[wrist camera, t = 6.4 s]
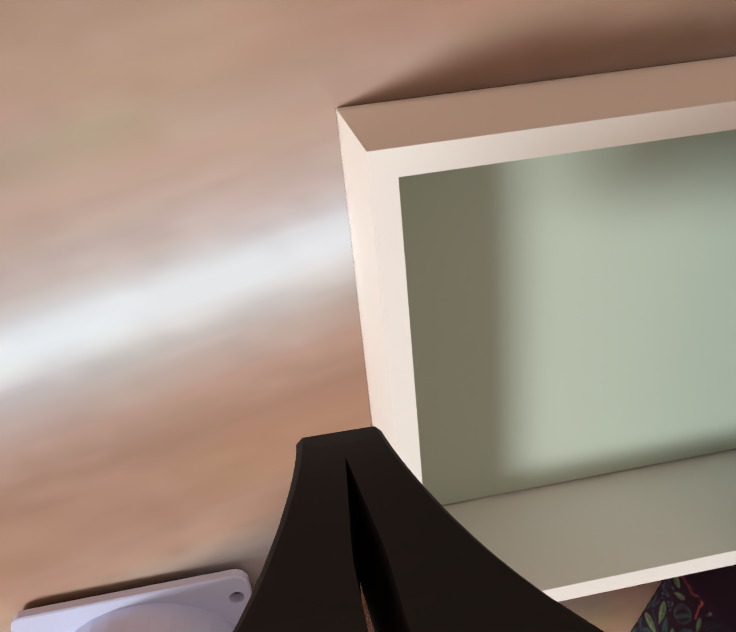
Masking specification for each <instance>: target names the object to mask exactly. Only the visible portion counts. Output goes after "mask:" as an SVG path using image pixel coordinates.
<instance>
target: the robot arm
mask: <svg viewBox="0 0 736 632" xmlns="http://www.w3.org/2000/svg"><path fill="white" fill-rule="evenodd" d="M360 583H361V586H362V590H363V593H364V597H365V600H366V604H367V607H368V611H369V614H370V617H371V621H372V624H373V628H374V631H375V632H604V631H602V630H600V629H599V628H597V627H596V626H594V625H593V624H591V623H589V622H588V621H586V620H585V619H583V618H582V617H580V616H579V615H577V614H575V613H574V612H572V611H571V610H569V609H568V608H566V607H565V606H563V605H562V604H560V603H558V602H557V601H555V600H554V599H552V598H551V597H549V596H548V595H546V594H545V593H544V592H542V591H541V590H540V589H538V588H537V587H535V586H534V585H533V584H531V583H530V582H529V581H527V580H526V579H525V578H523V577H522V576H521V575H519V574H518V573H517V572H515V571H514V570H513V569H512V568H510V567H509V566H508V565H507V564H505V563H504V562H503V561H502V560H500V559H499V558H498V557H497V556H496V555H494V554H493V553H492V552H491V551H490V550H488V549H487V548H486V547H485V546H484V545H483V544H482V543H481V542H479V541H478V540H477V539H476V538H475V537H474V536H473V535H472V534H471V533H470V532H468V531H467V530H466V529H465V528H464V527H463V526H462V525H461V524H460V523H459V522H458V521H457V520H456V519H455V518H454V517H453V516H452V515H451V514H450V513H449V512H448V511H447V510H446V509H445V508H444V507H443V506H442V505H441V504H440V503H439V502H438V501H437V500H436V499H435V497H434V496H433V495H432V494H431V493H430V492H429V491H428V490H427V489H426V488H425V487H424V486H423V484H422V483H421V482H420V481H419V480H418V479H417V478H416V476H415V475H414V474H413V473H412V472H411V471H410V469H409V468H408V467H407V466H406V464H405V463H404V462H403V461H402V459H401V458H400V457H399V456H398V454H397V453H396V452H395V450H394V449H393V447H392V446H391V445H390V443H389V442H388V440H387V439H386V437H385V436H384V434H383V433H382V431H381V430H379V429H378V428H377V427H375V426H373V427H366V428H360V429H354V430H348V431H342V432H336V433H330V434H324V435H317V436H311V437H305V438H302V439H301V440H300V441H299V442H298V443H297V445H296V461H295V468H294V473H293V478H292V482H291V487H290V491H289V495H288V498H287V501H286V505H285V508H284V511H283V515H282V518H281V521H280V525H279V528H278V530H277V533H276V536H275V539H274V541H273V544H272V546H271V549H270V552H269V554H268V557H267V559H266V562H265V564H264V567H263V570H262V572H261V574H260V577H259V579H258V581H257V583H256V586H255V588H254V590H253V592H252V589H251V585H250V581H249V577H248V575H247V573H246V572H244V571H243V570H239V569H231V570H226V571H221V572H216V573H211V574H205V575H200V576H195V577H190V578H185V579H180V580H175V581H170V582H165V583H159V584H154V585H149V586H144V587H139V588H134V589H129V590H124V591H119V592H113V593H108V594H103V595H98V596H93V597H88V598H83V599H78V600H72V601H67V602H62V603H57V604H52V605H47V606H42V607H37V608H32V609H26V610H23V611H20V612H18V613H17V614H16V615H15V616H14V618H13V621H12V624H11V631H12V632H368V629H367V624H366V620H365V615H364V610H363V606H362V601H361V590H360ZM234 592H241V593H239V594H233V593H234Z"/></svg>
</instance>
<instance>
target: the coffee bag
mask: <svg viewBox="0 0 736 632" xmlns="http://www.w3.org/2000/svg"><path fill="white" fill-rule="evenodd" d="M631 632H736V566H726V567H721V568H716V569H711V570H707V571H702V572H697V573H692V574H688V575H683V576H678V577H673V578H669V579H664V580H663V582H662V584H661V585H660V587H659V588H658V590H657V592H656V593H655V595H654V596H653V598H652V599H651V601H650V603H649V604H648V606H647V607H646V609H645V610H644V612H643V614H642V615H641V617H640V618H639V620H638V622H637V623H636V625H635V626H634V628H633V629H632V631H631Z"/></svg>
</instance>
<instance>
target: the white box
mask: <svg viewBox="0 0 736 632" xmlns="http://www.w3.org/2000/svg"><path fill="white" fill-rule="evenodd" d="M336 114H337V123H338V131H339V140H340V149H341V157H342V166H343V175H344V183H345V192H346V201H347V210H348V218H349V227H350V236H351V244H352V253H353V262H354V270H355V279H356V288H357V296H358V305H359V314H360V322H361V331H362V340H363V348H364V357H365V366H366V374H367V383H368V392H369V401H370V409H371V418H372V427H373V426H375V427H377V428H378V429H379V430H381V431H382V433H383V434H384V436H385V437H386V439H387V440H388V442H389V443H390V445H391V446H392V447H393V449H394V450H395V452H396V453H397V454H398V456H399V457H400V458H401V459H402V461H403V462H404V463H405V464H406V466H407V467H408V468H409V469H410V471H411V472H412V473H413V474H414V475H415V476H416V478H417V479H418V480H419V481H420V482H421V483H422V484H423V486H424V487H425V488H426V489H427V490H428V491H429V492H430V493H431V494H432V495H433V496H434V497H435V499H436V500H437V501H438V502H439V503H440V504H441V505H442V506H443V507H444V508H445V509H446V510H447V511H448V512H449V513H450V514H451V515H452V516H453V517H454V518H455V519H456V520H457V521H458V522H459V523H460V524H461V525H462V526H463V527H464V528H465V529H466V530H467V531H468V532H470V533H471V534H472V535H473V536H474V537H475V538H476V539H477V540H478V541H479V542H481V543H482V544H483V545H484V546H485V547H486V548H487V549H488V550H490V551H491V552H492V553H493V554H494V555H496V556H497V557H498V558H499V559H500V560H502V561H503V562H504V563H505V564H507V565H508V566H509V567H510V568H512V569H513V570H514V571H515V572H517V573H518V574H519V575H521V576H522V577H523V578H525V579H526V580H527V581H529V582H530V583H531V584H533V585H534V586H535V587H537V588H538V589H540V590H541V591H542V592H544V593H545V594H546V595H548V596H549V597H551V598H552V599H554V600H555V601H557V602H559V601H564V600H569V599H574V598H578V597H583V596H588V595H593V594H597V593H602V592H607V591H612V590H616V589H621V588H626V587H631V586H635V585H640V584H645V583H650V582H654V581H659V580H664V579H669V578H673V577H678V576H683V575H688V574H692V573H697V572H702V571H707V570H711V569H716V568H721V567H726V566H731V565H735V564H736V56H732V57H724V58H716V59H709V60H701V61H693V62H686V63H678V64H670V65H663V66H655V67H647V68H640V69H632V70H624V71H617V72H609V73H601V74H594V75H586V76H578V77H571V78H563V79H555V80H548V81H540V82H532V83H525V84H517V85H509V86H502V87H494V88H486V89H479V90H471V91H463V92H456V93H448V94H441V95H433V96H425V97H418V98H410V99H402V100H395V101H387V102H379V103H372V104H364V105H356V106H349V107H341V108H336Z"/></svg>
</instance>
